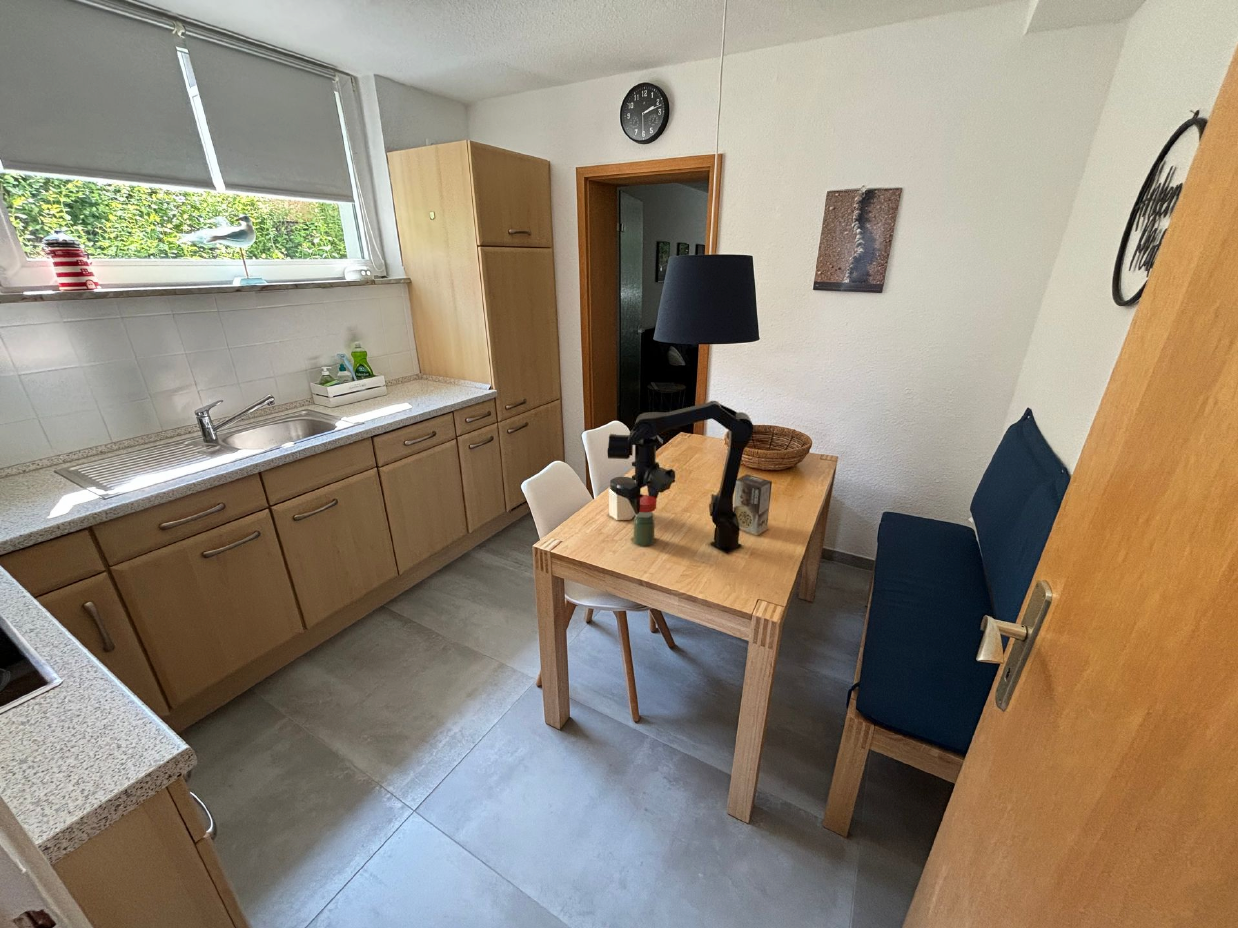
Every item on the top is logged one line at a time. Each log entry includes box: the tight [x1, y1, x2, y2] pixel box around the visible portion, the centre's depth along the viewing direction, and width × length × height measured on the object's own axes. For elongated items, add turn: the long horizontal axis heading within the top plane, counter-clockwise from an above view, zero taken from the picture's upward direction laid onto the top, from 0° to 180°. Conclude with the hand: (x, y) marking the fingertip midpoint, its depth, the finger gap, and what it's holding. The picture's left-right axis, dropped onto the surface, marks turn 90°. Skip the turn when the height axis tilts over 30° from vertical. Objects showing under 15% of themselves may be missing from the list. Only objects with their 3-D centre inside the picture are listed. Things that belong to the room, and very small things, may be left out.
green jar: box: [633, 511, 656, 547], centre depth 147 cm, size 6×6×9 cm
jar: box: [608, 476, 636, 521], centre depth 162 cm, size 9×8×12 cm
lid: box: [639, 494, 658, 513], centre depth 143 cm, size 7×7×2 cm
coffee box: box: [733, 473, 773, 536], centre depth 152 cm, size 9×6×16 cm
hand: (644, 509), depth 144 cm, fingers closed on lid, 6 cm apart
